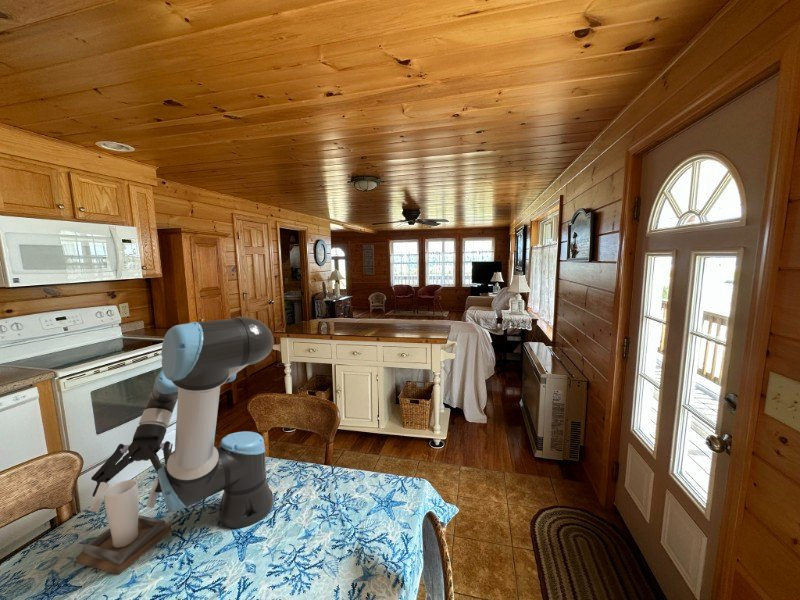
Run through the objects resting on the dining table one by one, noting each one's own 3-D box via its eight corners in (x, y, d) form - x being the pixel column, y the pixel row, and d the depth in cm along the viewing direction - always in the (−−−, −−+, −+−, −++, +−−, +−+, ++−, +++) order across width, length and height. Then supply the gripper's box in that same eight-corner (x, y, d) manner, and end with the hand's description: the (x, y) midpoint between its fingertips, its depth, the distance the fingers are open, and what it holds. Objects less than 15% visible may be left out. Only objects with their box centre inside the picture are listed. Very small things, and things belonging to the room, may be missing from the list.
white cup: (123, 553, 84) (118, 498, 83) (102, 549, 86) (96, 494, 84) (148, 532, 91) (144, 480, 89) (128, 529, 92) (123, 477, 91)
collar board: (171, 530, 94) (170, 518, 93) (119, 574, 80) (117, 561, 80) (133, 521, 97) (132, 510, 97) (76, 562, 83) (74, 549, 83)
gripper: (201, 428, 105) (178, 507, 91) (115, 433, 102) (79, 515, 89) (191, 420, 99) (166, 502, 86) (99, 425, 96) (58, 511, 83)
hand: (121, 509), depth 87 cm, fingers open, 13 cm apart
